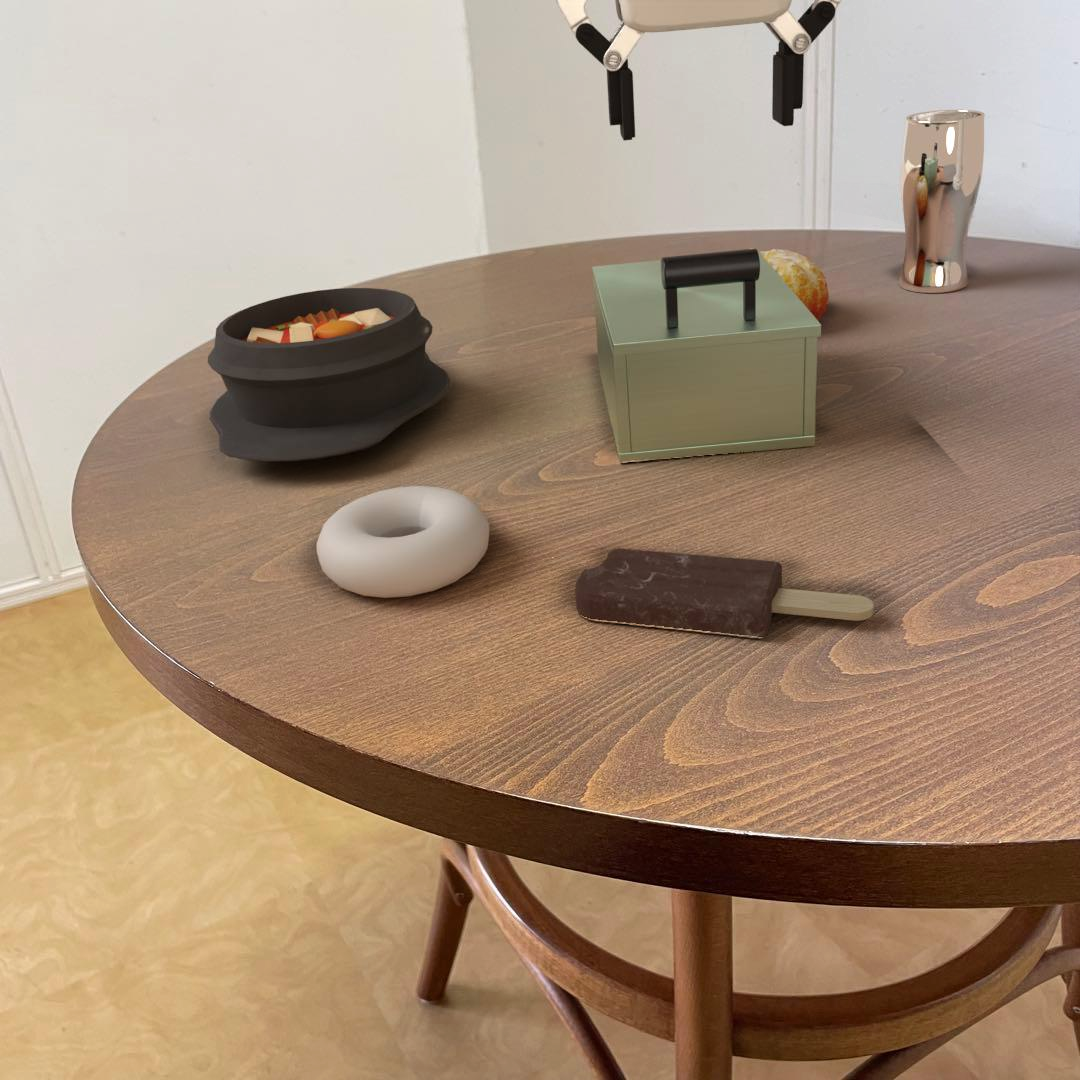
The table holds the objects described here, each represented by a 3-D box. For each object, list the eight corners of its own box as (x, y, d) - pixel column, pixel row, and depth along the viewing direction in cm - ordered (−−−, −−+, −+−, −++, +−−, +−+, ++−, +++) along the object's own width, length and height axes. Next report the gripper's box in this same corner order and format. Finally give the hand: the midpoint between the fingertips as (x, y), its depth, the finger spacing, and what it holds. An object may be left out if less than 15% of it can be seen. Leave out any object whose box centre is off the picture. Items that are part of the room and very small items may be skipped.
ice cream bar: (877, 596, 58) (598, 571, 63) (878, 569, 57) (596, 545, 62) (867, 652, 54) (569, 620, 59) (869, 623, 53) (566, 593, 58)
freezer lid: (821, 336, 71) (823, 252, 69) (614, 356, 71) (609, 273, 69) (758, 260, 89) (758, 191, 86) (592, 276, 89) (588, 208, 87)
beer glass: (883, 291, 105) (891, 122, 98) (908, 272, 110) (918, 109, 103) (959, 297, 101) (973, 121, 95) (981, 277, 106) (997, 108, 99)
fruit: (813, 342, 93) (786, 249, 90) (701, 367, 99) (672, 280, 96) (851, 301, 101) (827, 214, 98) (745, 326, 107) (720, 245, 105)
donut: (297, 610, 62) (472, 609, 60) (284, 556, 61) (462, 553, 59) (354, 527, 71) (508, 524, 69) (344, 477, 70) (501, 473, 68)
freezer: (815, 446, 75) (818, 333, 72) (620, 464, 76) (613, 353, 72) (758, 356, 92) (758, 261, 89) (599, 371, 93) (592, 277, 89)
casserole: (429, 477, 77) (412, 359, 73) (165, 493, 78) (134, 378, 74) (470, 358, 99) (458, 262, 95) (263, 372, 100) (243, 279, 96)
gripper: (840, -204, 65) (830, 110, 73) (542, -175, 66) (564, 134, 74) (876, -221, 59) (860, 126, 66) (544, -189, 59) (568, 152, 67)
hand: (705, 130), depth 70 cm, fingers open, 9 cm apart
